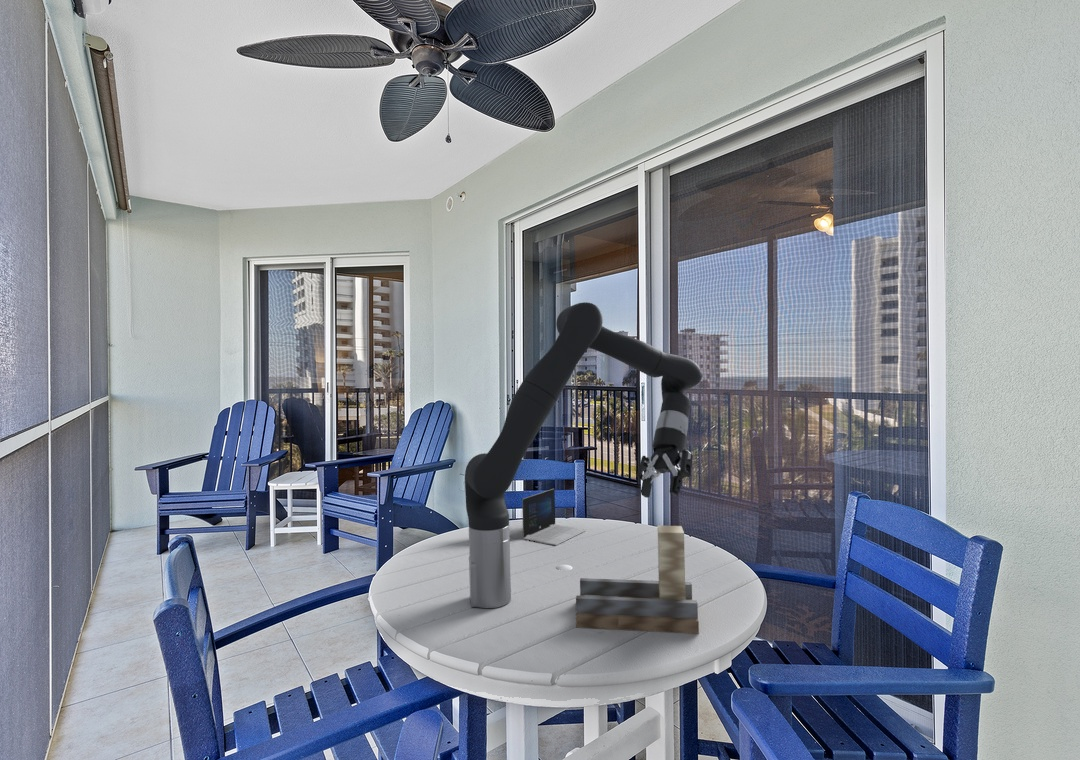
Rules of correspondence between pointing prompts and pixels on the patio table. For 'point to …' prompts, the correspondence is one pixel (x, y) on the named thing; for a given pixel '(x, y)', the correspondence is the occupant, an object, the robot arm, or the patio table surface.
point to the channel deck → (634, 607)
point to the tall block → (671, 562)
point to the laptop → (544, 520)
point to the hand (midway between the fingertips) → (659, 495)
